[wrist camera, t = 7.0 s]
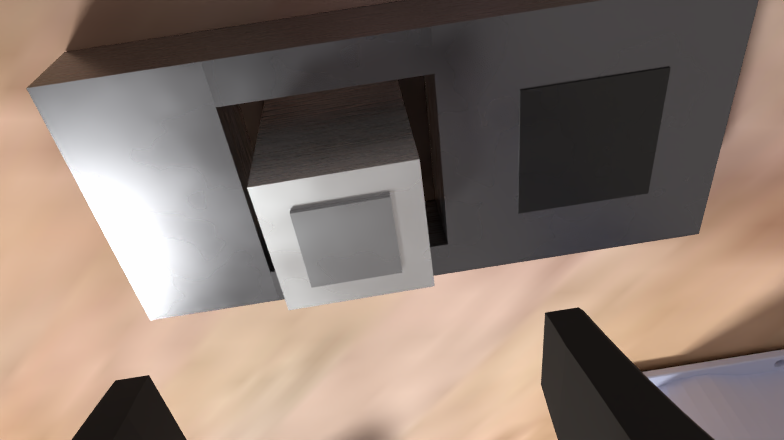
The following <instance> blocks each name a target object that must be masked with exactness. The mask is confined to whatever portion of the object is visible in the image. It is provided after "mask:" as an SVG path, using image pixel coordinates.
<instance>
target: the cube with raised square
mask: <svg viewBox="0 0 784 440" xmlns="http://www.w3.org/2000/svg"><path fill="white" fill-rule="evenodd" d="M247 189H248V192H249V194H250V197H251V200H252V203H253V206H254V209H255V212H256V215H257V218H258V221H259V224H260V227H261V230H262V233H263V236H264V239H265V242H266V245H267V248H268V251H269V253H270V256H271V259H272V262H273V265H274V268H275V271H276V274H277V277H278V280H279V283H280V286H281V289H282V292H283V295H284V298H285V301H286V304H287V307H288V310H294V309H300V308H306V307H312V306H318V305H324V304H330V303H336V302H342V301H348V300H354V299H360V298H366V297H372V296H378V295H384V294H390V293H396V292H402V291H408V290H414V289H420V288H426V287H432V286H434V277H433V269H432V260H431V252H430V243H429V235H428V227H427V218H426V210H425V201H424V193H423V184H422V176H421V167H420V159H419V156H418V152H417V148H416V145H415V141H414V138H413V134H412V130H411V127H410V123H409V120H408V116H407V112H406V109H405V105H404V102H403V98H402V94H401V91H400V87H399V84H398V80H391V81H384V82H378V83H371V84H365V85H358V86H352V87H345V88H339V89H332V90H326V91H319V92H313V93H306V94H300V95H293V96H287V97H280V98H274V99H267V100H264V105H263V110H262V115H261V120H260V125H259V131H258V136H257V141H256V146H255V151H254V156H253V161H252V166H251V171H250V176H249V181H248V186H247Z"/></svg>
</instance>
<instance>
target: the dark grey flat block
mask: <svg viewBox="0 0 784 440" xmlns="http://www.w3.org/2000/svg"><path fill="white" fill-rule="evenodd" d="M757 4H758V0H404V1H397V2H391V3H384V4H378V5H371V6H365V7H358V8H352V9H345V10H338V11H332V12H325V13H319V14H312V15H306V16H299V17H292V18H286V19H279V20H273V21H266V22H260V23H253V24H247V25H240V26H233V27H227V28H220V29H214V30H207V31H201V32H194V33H187V34H181V35H174V36H168V37H161V38H155V39H148V40H142V41H135V42H128V43H122V44H115V45H109V46H102V47H96V48H89V49H82V50H76V51H69V52H64V53H63V54H62V55H61V56H60V57H59V58H58V59H57V60H56V61H55V62H54V63H53V64H52V65H51V66H49V67H48V68H47V69H46V70H45V71H44V72H43V73H42V74H41V75H40V76H39V77H38V78H37V79H36V80H35V81H34V82H33V83H32V84H30V85H29V86H28V87H27V90H28V92H29V94H30V96H31V98H32V100H33V102H34V103H35V105H36V107H37V109H38V111H39V113H40V115H41V117H42V118H43V120H44V122H45V124H46V126H47V128H48V130H49V132H50V133H51V135H52V137H53V139H54V141H55V143H56V145H57V147H58V148H59V150H60V152H61V154H62V156H63V158H64V160H65V162H66V163H67V165H68V167H69V169H70V171H71V173H72V175H73V177H74V178H75V180H76V182H77V184H78V186H79V188H80V190H81V192H82V193H83V195H84V197H85V199H86V201H87V203H88V205H89V207H90V208H91V210H92V212H93V214H94V216H95V218H96V220H97V222H98V223H99V225H100V227H101V229H102V231H103V233H104V235H105V237H106V238H107V240H108V242H109V244H110V246H111V248H112V250H113V252H114V253H115V255H116V257H117V259H118V261H119V263H120V265H121V267H122V268H123V270H124V272H125V274H126V276H127V278H128V280H129V282H130V283H131V285H132V287H133V289H134V291H135V293H136V295H137V297H138V298H139V300H140V302H141V304H142V306H143V308H144V310H145V312H146V313H147V315H148V317H149V319H150V320H155V319H162V318H168V317H174V316H181V315H187V314H193V313H200V312H206V311H212V310H219V309H225V308H231V307H238V306H244V305H250V304H257V303H263V302H270V301H276V300H282V299H285V298H284V295H283V292H282V289H281V286H280V283H279V280H278V277H277V274H276V271H275V268H274V265H273V262H272V259H271V256H270V253H269V251H268V248H267V245H266V242H265V239H264V236H263V233H262V230H261V227H260V224H259V221H258V218H257V215H256V212H255V209H254V206H253V203H252V200H251V197H250V194H249V192H248V189H247V186H248V181H249V176H250V171H251V166H252V161H253V156H254V153H253V149H252V146H251V143H250V139H249V136H248V133H247V129H246V126H245V123H244V120H243V116H242V113H241V110H240V106H239V104H241V103H248V102H254V101H261V100H267V99H274V98H280V97H287V96H293V95H300V94H306V93H313V92H319V91H326V90H332V89H339V88H345V87H352V86H358V85H365V84H371V83H378V82H384V81H391V80H397V79H404V78H410V77H417V76H423V75H424V82H425V93H426V104H427V115H428V126H429V138H430V149H431V160H432V171H433V182H434V193H435V200H432V201H425V210H426V218H427V227H428V235H429V243H430V252H431V260H432V269H433V276H434V275H441V274H447V273H453V272H460V271H466V270H473V269H479V268H485V267H492V266H498V265H504V264H511V263H517V262H523V261H530V260H536V259H542V258H549V257H555V256H561V255H568V254H574V253H580V252H587V251H593V250H599V249H606V248H612V247H618V246H625V245H631V244H637V243H644V242H650V241H656V240H663V239H669V238H676V237H682V236H688V235H695V234H699V231H700V227H701V223H702V219H703V215H704V211H705V208H706V204H707V200H708V196H709V192H710V188H711V184H712V180H713V176H714V172H715V168H716V164H717V161H718V157H719V153H720V149H721V145H722V141H723V137H724V133H725V129H726V125H727V121H728V118H729V114H730V110H731V106H732V102H733V98H734V94H735V90H736V86H737V82H738V78H739V75H740V71H741V67H742V63H743V59H744V55H745V51H746V47H747V43H748V39H749V35H750V31H751V28H752V24H753V20H754V16H755V12H756V8H757Z"/></svg>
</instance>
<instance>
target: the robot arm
mask: <svg viewBox="0 0 784 440" xmlns="http://www.w3.org/2000/svg"><path fill="white" fill-rule="evenodd" d="M541 386H542V389H543V392H544V396H545V399H546V403H547V406H548V409H549V413H550V416H551V419H552V422H553V425H554V429H555V432H556V435H557V438H558V440H784V349H782V350H776V351H770V352H763V353H757V354H751V355H745V356H738V357H732V358H726V359H720V360H713V361H707V362H701V363H695V364H688V365H682V366H676V367H670V368H663V369H657V370H651V371H645V372H641V371H640V370H639V369H638V368H637V367H636V366H635V365H634V364H633V363H632V362H631V361H630V360H629V359H628V358H627V357H626V356H625V355H624V354H623V353H622V351H621V350H620V349H619V348H618V347H617V346H616V345H615V344H614V343H613V342H612V341H611V340H610V339H609V338H608V337H607V336H606V335H605V334H604V333H603V331H602V330H601V329H600V328H599V327H598V326H597V325H596V324H595V323H594V322H593V321H592V320H591V318H590V317H589V316H588V315H587V314H586V313H585V312H584V311H583V310H581V309H580V308H579V307H578V308H572V309H566V310H559V311H553V312H546V313H545V325H544V342H543V360H542V377H541ZM72 440H186V438H185V436H184V435H183V433H182V431H181V429H180V428H179V426H178V424H177V423H176V421H175V419H174V417H173V416H172V414H171V412H170V411H169V409H168V407H167V405H166V404H165V402H164V400H163V399H162V397H161V395H160V393H159V392H158V390H157V388H156V386H155V385H154V383H153V381H152V380H151V378H150V376H149V375H147V376H141V377H135V378H128V379H122V380H116V381H115V382H114V383H113V384H112V386H111V387H110V388H109V390H108V391H107V392H106V394H105V395H104V396H103V398H102V399H101V400H100V402H99V403H98V404H97V406H96V407H95V408H94V410H93V411H92V413H91V414H90V415H89V417H88V418H87V419H86V421H85V422H84V423H83V425H82V426H81V428H80V429H79V430H78V432H77V433H76V434H75V436H74V437H73V439H72Z"/></svg>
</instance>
